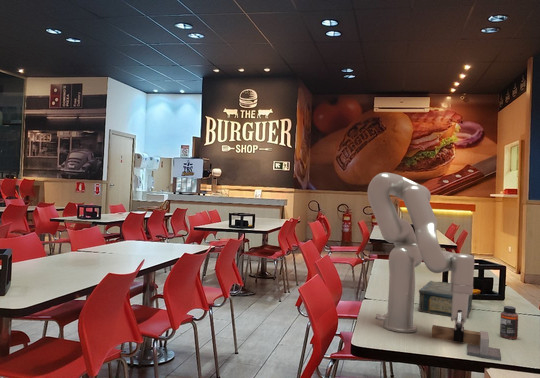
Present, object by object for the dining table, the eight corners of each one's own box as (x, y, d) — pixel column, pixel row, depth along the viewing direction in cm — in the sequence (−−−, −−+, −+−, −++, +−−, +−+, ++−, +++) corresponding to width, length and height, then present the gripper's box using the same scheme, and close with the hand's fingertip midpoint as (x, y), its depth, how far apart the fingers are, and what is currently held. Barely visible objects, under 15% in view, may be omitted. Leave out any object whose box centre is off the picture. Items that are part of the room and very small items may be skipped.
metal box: (416, 312, 216) (417, 289, 216) (427, 299, 245) (429, 279, 245) (468, 320, 206) (469, 296, 206) (473, 306, 235) (475, 285, 235)
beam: (431, 338, 176) (431, 327, 176) (432, 335, 179) (432, 324, 179) (486, 347, 169) (486, 335, 169) (485, 344, 172) (486, 333, 172)
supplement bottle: (512, 335, 185) (513, 305, 185) (520, 340, 179) (522, 309, 179) (496, 334, 185) (498, 304, 185) (504, 339, 179) (506, 308, 179)
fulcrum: (466, 354, 158) (467, 336, 158) (467, 346, 167) (468, 329, 167) (501, 360, 154) (502, 341, 154) (499, 351, 163) (500, 333, 163)
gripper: (451, 283, 183) (448, 332, 183) (449, 291, 168) (446, 344, 167) (472, 286, 181) (470, 335, 180) (472, 294, 165) (469, 348, 165)
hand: (458, 339), depth 174 cm, fingers open, 5 cm apart
